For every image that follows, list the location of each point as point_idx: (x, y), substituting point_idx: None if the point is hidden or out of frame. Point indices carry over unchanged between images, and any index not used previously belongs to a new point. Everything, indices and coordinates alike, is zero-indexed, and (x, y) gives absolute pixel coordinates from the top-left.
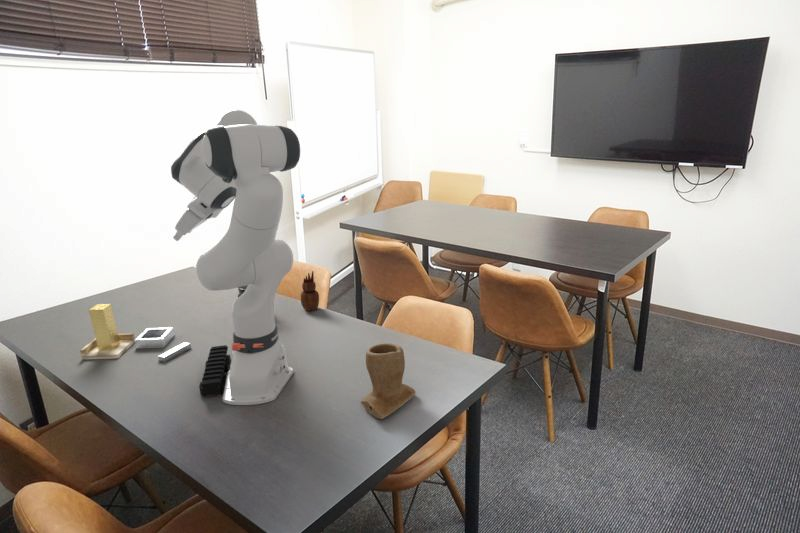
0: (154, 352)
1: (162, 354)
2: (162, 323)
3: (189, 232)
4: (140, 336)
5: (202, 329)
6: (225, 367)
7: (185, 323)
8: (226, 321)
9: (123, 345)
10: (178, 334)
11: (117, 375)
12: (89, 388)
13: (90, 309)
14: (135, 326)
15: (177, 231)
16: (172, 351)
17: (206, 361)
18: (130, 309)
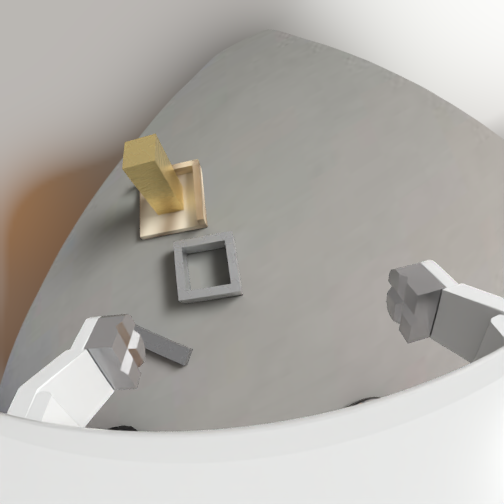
0: (164, 295)
1: (135, 329)
2: (299, 229)
3: (390, 316)
4: (190, 242)
5: (279, 344)
6: None
7: (306, 283)
8: (328, 379)
9: (175, 222)
10: (248, 300)
11: (91, 277)
12: (63, 259)
13: (126, 143)
14: (277, 183)
15: (31, 382)
16: (147, 343)
17: (115, 429)
18: (348, 131)
